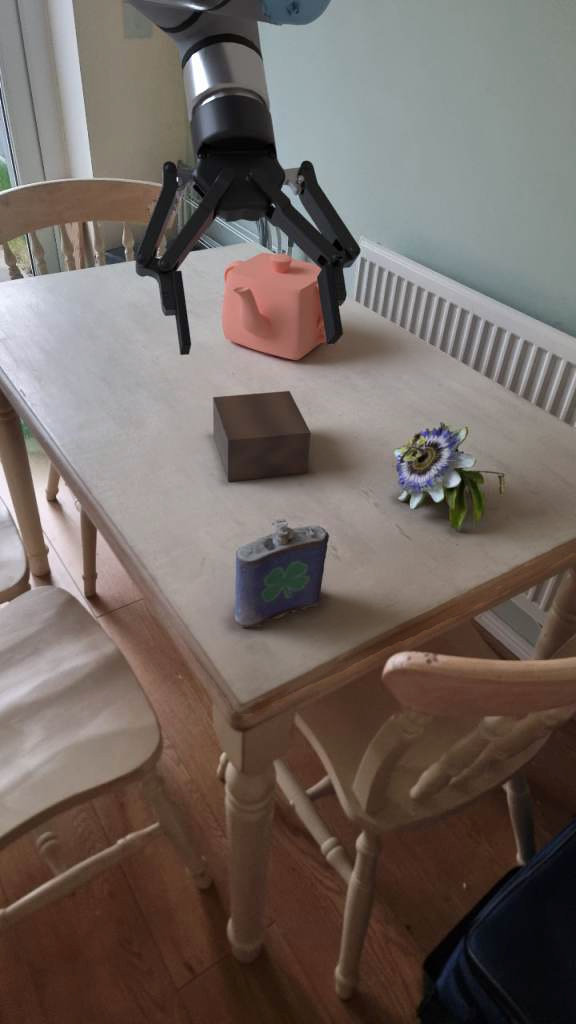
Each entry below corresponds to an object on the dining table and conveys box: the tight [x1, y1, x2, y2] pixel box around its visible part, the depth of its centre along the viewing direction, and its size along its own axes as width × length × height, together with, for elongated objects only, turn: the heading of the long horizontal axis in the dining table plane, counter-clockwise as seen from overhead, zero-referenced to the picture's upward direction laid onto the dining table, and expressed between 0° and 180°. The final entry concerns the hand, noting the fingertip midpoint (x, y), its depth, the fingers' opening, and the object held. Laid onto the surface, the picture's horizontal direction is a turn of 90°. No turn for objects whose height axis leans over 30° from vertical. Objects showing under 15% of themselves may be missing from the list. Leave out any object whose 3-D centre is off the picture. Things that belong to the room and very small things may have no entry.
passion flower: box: [393, 421, 506, 532], centre depth 81 cm, size 11×11×12 cm
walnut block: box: [212, 390, 312, 483], centre depth 86 cm, size 10×10×6 cm
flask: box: [234, 518, 330, 628], centre depth 65 cm, size 9×3×11 cm, turn 117°
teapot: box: [221, 252, 327, 361], centre depth 107 cm, size 20×19×14 cm
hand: (262, 345), depth 62 cm, fingers open, 13 cm apart
